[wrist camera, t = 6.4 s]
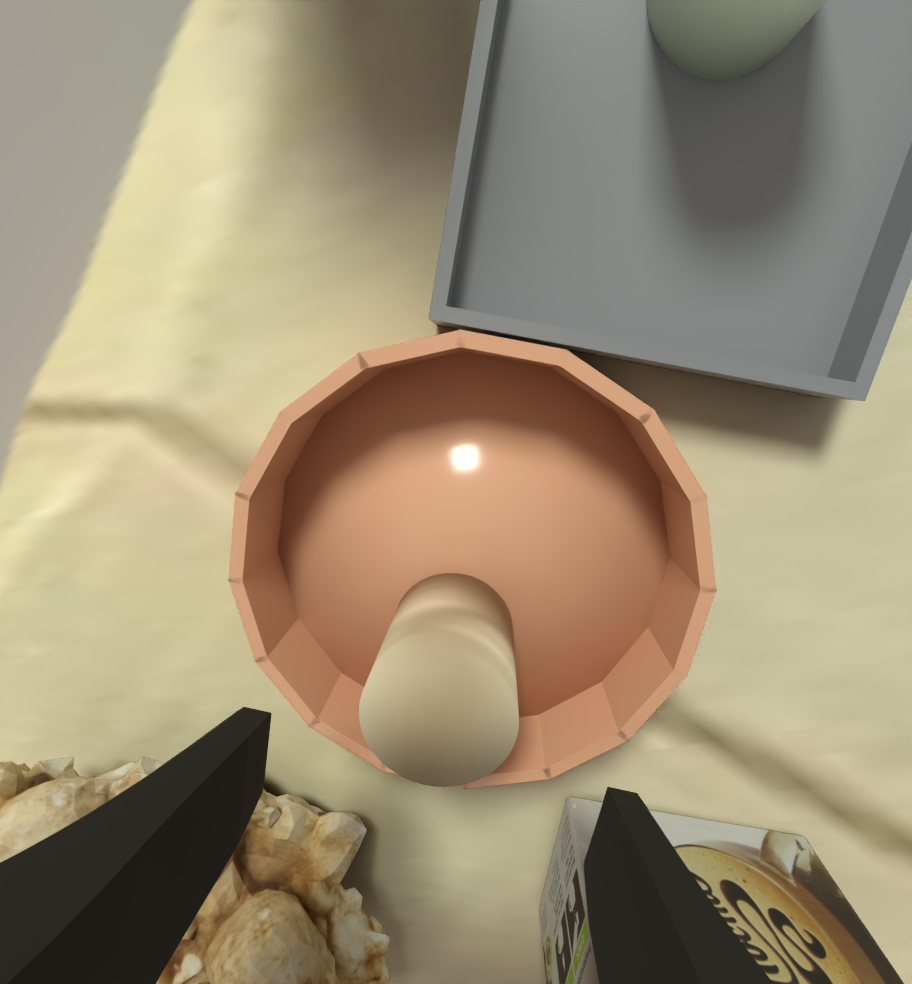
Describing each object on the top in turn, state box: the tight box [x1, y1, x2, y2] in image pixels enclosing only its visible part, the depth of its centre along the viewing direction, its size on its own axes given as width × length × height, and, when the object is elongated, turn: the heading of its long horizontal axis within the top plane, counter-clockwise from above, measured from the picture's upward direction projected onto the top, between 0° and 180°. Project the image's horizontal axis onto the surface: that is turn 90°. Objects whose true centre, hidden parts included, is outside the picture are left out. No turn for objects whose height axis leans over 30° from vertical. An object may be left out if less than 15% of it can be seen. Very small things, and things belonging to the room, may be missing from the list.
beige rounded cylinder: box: [359, 573, 519, 787], centre depth 15 cm, size 4×4×4 cm
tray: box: [429, 0, 912, 401], centre depth 13 cm, size 12×12×2 cm
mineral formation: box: [0, 757, 390, 984], centre depth 17 cm, size 8×13×15 cm
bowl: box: [228, 329, 717, 789], centre depth 15 cm, size 13×13×3 cm
